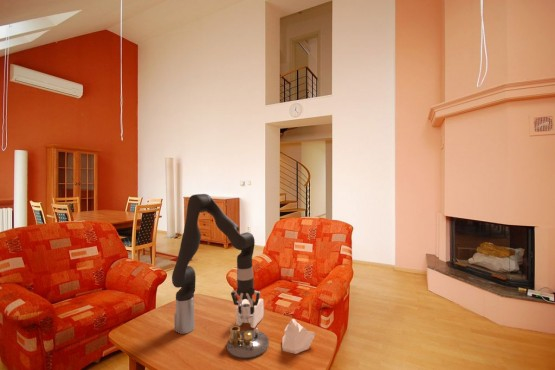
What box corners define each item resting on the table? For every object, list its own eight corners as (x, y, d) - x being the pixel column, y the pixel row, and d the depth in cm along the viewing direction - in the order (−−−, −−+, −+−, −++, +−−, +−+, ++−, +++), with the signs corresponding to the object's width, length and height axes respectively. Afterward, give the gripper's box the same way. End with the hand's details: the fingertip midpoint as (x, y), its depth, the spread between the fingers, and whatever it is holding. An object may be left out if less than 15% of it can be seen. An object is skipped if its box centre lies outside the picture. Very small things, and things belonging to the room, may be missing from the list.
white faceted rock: (306, 361, 117) (300, 334, 114) (277, 353, 124) (271, 328, 121) (315, 339, 127) (310, 314, 124) (288, 333, 134) (282, 309, 132)
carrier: (220, 356, 118) (220, 344, 118) (234, 331, 138) (234, 321, 137) (264, 360, 115) (264, 348, 115) (271, 334, 135) (271, 323, 135)
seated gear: (229, 345, 123) (228, 333, 123) (228, 338, 129) (228, 326, 129) (242, 343, 125) (242, 331, 125) (241, 336, 131) (241, 324, 131)
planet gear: (237, 322, 117) (237, 308, 117) (241, 315, 124) (241, 302, 124) (251, 322, 116) (251, 309, 116) (255, 315, 123) (254, 302, 123)
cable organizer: (252, 331, 138) (252, 309, 138) (235, 327, 141) (234, 306, 141) (264, 317, 152) (263, 297, 152) (247, 314, 155) (247, 295, 155)
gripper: (227, 279, 117) (228, 317, 117) (258, 280, 115) (259, 318, 115) (232, 273, 125) (234, 309, 125) (262, 274, 123) (263, 310, 123)
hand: (246, 313), depth 120 cm, fingers closed on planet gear, 4 cm apart
